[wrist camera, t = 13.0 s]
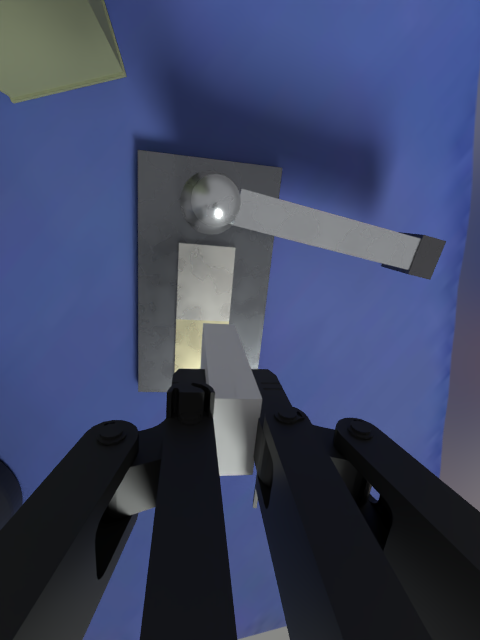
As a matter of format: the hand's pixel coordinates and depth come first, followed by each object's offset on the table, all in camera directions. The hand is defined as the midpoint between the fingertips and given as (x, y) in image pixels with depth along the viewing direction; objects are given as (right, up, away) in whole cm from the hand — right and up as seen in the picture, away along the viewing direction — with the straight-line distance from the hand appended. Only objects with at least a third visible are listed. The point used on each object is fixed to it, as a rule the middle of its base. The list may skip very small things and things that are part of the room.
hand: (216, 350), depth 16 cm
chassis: (-2, +5, +16) cm, 16 cm away
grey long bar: (+6, +10, +12) cm, 17 cm away
